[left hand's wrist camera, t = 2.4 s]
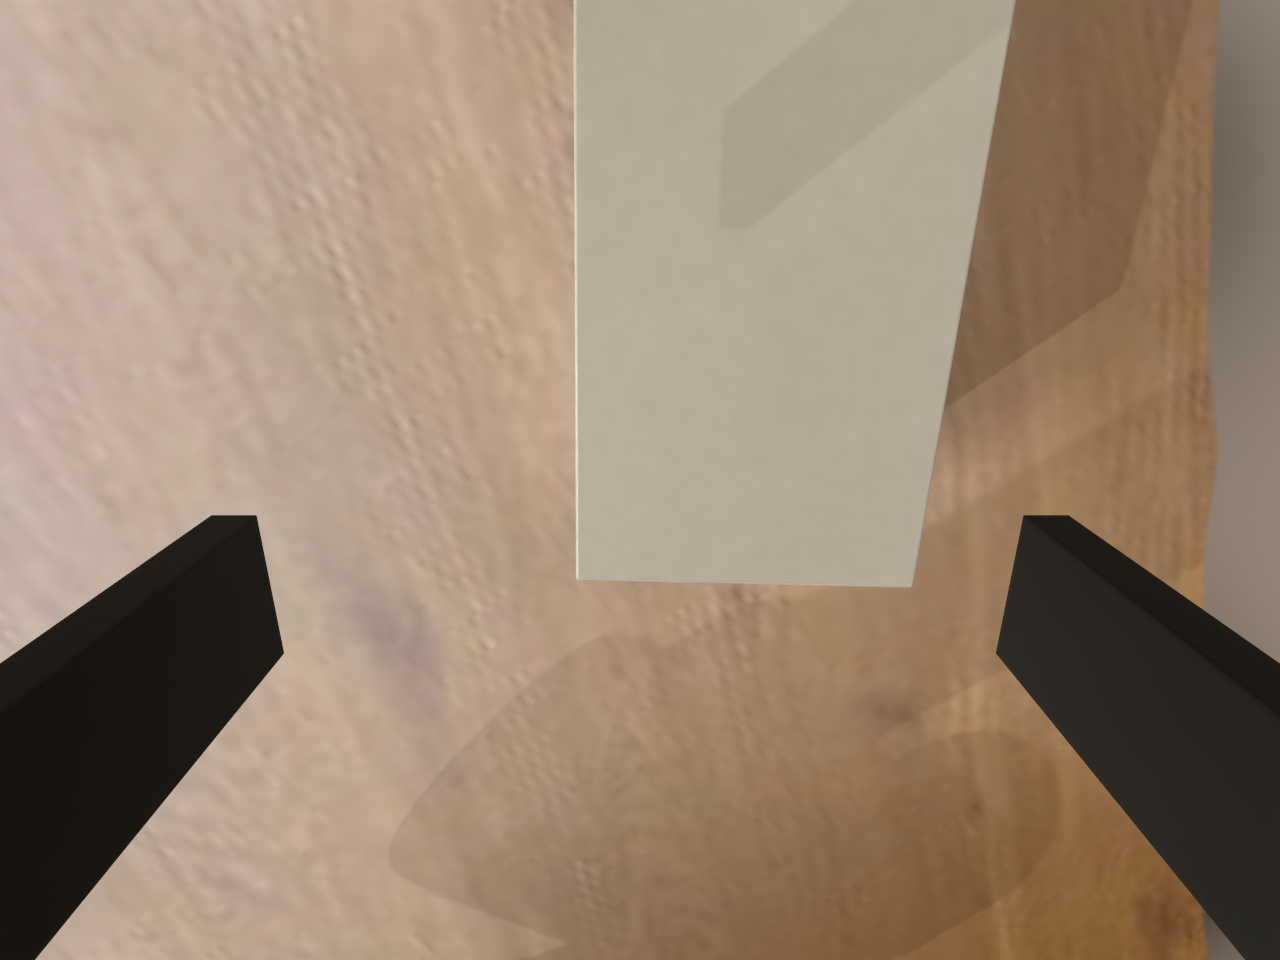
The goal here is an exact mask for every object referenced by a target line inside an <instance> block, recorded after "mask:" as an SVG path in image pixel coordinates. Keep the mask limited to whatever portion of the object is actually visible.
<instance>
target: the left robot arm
mask: <svg viewBox="0 0 1280 960" xmlns="http://www.w3.org/2000/svg"><path fill="white" fill-rule="evenodd" d="M283 654H284V651H283V646H282V641H281V636H280V631H279V626H278V621H277V616H276V611H275V606H274V601H273V596H272V591H271V586H270V581H269V576H268V571H267V566H266V561H265V556H264V551H263V546H262V541H261V536H260V531H259V526H258V521H257V516H256V515H212V516H210V517H209V518H207V519H206V520H204V521H203V522H202V523H200V524H199V525H197V526H196V527H194V528H193V529H192V530H190V531H189V532H187V533H186V534H184V535H183V536H182V537H180V538H179V539H177V540H176V541H174V542H173V543H172V544H170V545H169V546H167V547H166V548H164V549H163V550H162V551H160V552H159V553H157V554H156V555H154V556H153V557H152V558H150V559H149V560H147V561H146V562H144V563H143V564H142V565H140V566H139V567H137V568H136V569H134V570H133V571H132V572H130V573H129V574H127V575H126V576H124V577H123V578H122V579H120V580H119V581H117V582H116V583H115V584H113V585H112V586H110V587H109V588H107V589H106V590H105V591H103V592H102V593H100V594H99V595H97V596H96V597H95V598H93V599H92V600H90V601H89V602H87V603H86V604H85V605H83V606H82V607H80V608H79V609H77V610H76V611H75V612H73V613H72V614H70V615H69V616H67V617H66V618H65V619H63V620H62V621H60V622H59V623H57V624H56V625H55V626H53V627H52V628H50V629H49V630H47V631H46V632H45V633H43V634H42V635H40V636H39V637H37V638H36V639H35V640H33V641H32V642H30V643H29V644H27V645H26V646H25V647H23V648H22V649H20V650H19V651H17V652H16V653H15V654H13V655H12V656H10V657H9V658H7V659H6V660H5V661H3V662H2V663H0V960H35V959H36V958H37V957H38V955H39V954H40V953H41V952H42V950H43V949H44V948H45V947H46V945H47V944H48V943H49V942H50V941H51V939H52V938H53V937H54V936H55V934H56V933H57V932H58V931H59V929H60V928H61V927H62V926H63V925H64V923H65V922H66V921H67V920H68V918H69V917H70V916H71V915H72V913H73V912H74V911H75V910H76V909H77V907H78V906H79V905H80V904H81V902H82V901H83V900H84V899H85V897H86V896H87V895H88V894H89V893H90V891H91V890H92V889H93V888H94V886H95V885H96V884H97V883H98V881H99V880H100V879H101V878H102V877H103V875H104V874H105V873H106V872H107V870H108V869H109V868H110V867H111V865H112V864H113V863H114V862H115V861H116V859H117V858H118V857H119V856H120V854H121V853H122V852H123V851H124V849H125V848H126V847H127V846H128V845H129V843H130V842H131V841H132V840H133V838H134V837H135V836H136V835H137V833H138V832H139V831H140V830H141V829H142V827H143V826H144V825H145V824H146V822H147V821H148V820H149V819H150V817H151V816H152V815H153V814H154V813H155V811H156V810H157V809H158V808H159V806H160V805H161V804H162V803H163V801H164V800H165V799H166V798H167V797H168V795H169V794H170V793H171V792H172V790H173V789H174V788H175V787H176V785H177V784H178V783H179V782H180V781H181V779H182V778H183V777H184V776H185V774H186V773H187V772H188V771H189V769H190V768H191V767H192V766H193V765H194V763H195V762H196V761H197V760H198V758H199V757H200V756H201V755H202V753H203V752H204V751H205V750H206V749H207V747H208V746H209V745H210V744H211V742H212V741H213V740H214V739H215V737H216V736H217V735H218V734H219V733H220V731H221V730H222V729H223V728H224V726H225V725H226V724H227V723H228V721H229V720H230V719H231V718H232V717H233V715H234V714H235V713H236V712H237V710H238V709H239V708H240V707H241V706H242V704H243V703H244V702H245V701H246V699H247V698H248V697H249V696H250V694H251V693H252V692H253V691H254V690H255V688H256V687H257V686H258V685H259V683H260V682H261V681H262V680H263V678H264V677H265V676H266V675H267V674H268V672H269V671H270V670H271V669H272V667H273V666H274V665H275V664H276V662H277V661H278V660H279V659H280V658H281V656H282V655H283ZM996 654H997V655H998V656H999V658H1000V659H1001V660H1002V661H1003V662H1004V664H1005V665H1006V666H1007V667H1008V669H1009V670H1010V671H1011V672H1012V674H1013V675H1014V676H1015V677H1016V678H1017V680H1018V681H1019V682H1020V683H1021V685H1022V686H1023V687H1024V688H1025V690H1026V691H1027V692H1028V693H1029V694H1030V696H1031V697H1032V698H1033V699H1034V701H1035V702H1036V703H1037V704H1038V706H1039V707H1040V708H1041V709H1042V710H1043V712H1044V713H1045V714H1046V715H1047V717H1048V718H1049V719H1050V720H1051V721H1052V723H1053V724H1054V725H1055V726H1056V728H1057V729H1058V730H1059V731H1060V733H1061V734H1062V735H1063V736H1064V737H1065V739H1066V740H1067V741H1068V742H1069V744H1070V745H1071V746H1072V747H1073V749H1074V750H1075V751H1076V752H1077V753H1078V755H1079V756H1080V757H1081V758H1082V760H1083V761H1084V762H1085V763H1086V765H1087V766H1088V767H1089V768H1090V769H1091V771H1092V772H1093V773H1094V774H1095V776H1096V777H1097V778H1098V779H1099V781H1100V782H1101V783H1102V784H1103V785H1104V787H1105V788H1106V789H1107V790H1108V792H1109V793H1110V794H1111V795H1112V797H1113V798H1114V799H1115V800H1116V801H1117V803H1118V804H1119V805H1120V806H1121V808H1122V809H1123V810H1124V811H1125V813H1126V814H1127V815H1128V816H1129V817H1130V819H1131V820H1132V821H1133V822H1134V824H1135V825H1136V826H1137V827H1138V829H1139V830H1140V831H1141V832H1142V833H1143V835H1144V836H1145V837H1146V838H1147V840H1148V841H1149V842H1150V843H1151V845H1152V846H1153V847H1154V848H1155V849H1156V851H1157V852H1158V853H1159V854H1160V856H1161V857H1162V858H1163V859H1164V861H1165V862H1166V863H1167V864H1168V865H1169V867H1170V868H1171V869H1172V870H1173V872H1174V873H1175V874H1176V875H1177V877H1178V878H1179V879H1180V880H1181V881H1182V883H1183V884H1184V885H1185V886H1186V888H1187V889H1188V890H1189V891H1190V893H1191V894H1192V895H1193V896H1194V897H1195V899H1196V900H1197V901H1198V902H1199V904H1200V905H1201V906H1202V907H1203V909H1204V910H1205V911H1206V912H1207V913H1208V915H1209V916H1210V917H1211V918H1212V920H1213V921H1214V922H1215V923H1216V925H1217V926H1218V927H1219V928H1220V929H1221V931H1222V932H1223V933H1224V934H1225V936H1226V937H1227V938H1228V939H1229V940H1230V942H1231V943H1232V944H1233V945H1234V947H1235V948H1236V949H1237V950H1238V952H1239V953H1240V954H1241V955H1242V957H1243V958H1244V959H1245V960H1280V663H1278V662H1277V661H1275V660H1274V659H1272V658H1271V657H1270V656H1268V655H1267V654H1265V653H1264V652H1262V651H1261V650H1260V649H1258V648H1257V647H1255V646H1254V645H1252V644H1251V643H1250V642H1248V641H1247V640H1245V639H1244V638H1243V637H1241V636H1240V635H1238V634H1237V633H1235V632H1234V631H1233V630H1231V629H1230V628H1228V627H1227V626H1225V625H1224V624H1223V623H1221V622H1220V621H1218V620H1217V619H1215V618H1214V617H1213V616H1211V615H1210V614H1208V613H1207V612H1205V611H1204V610H1203V609H1201V608H1200V607H1198V606H1197V605H1195V604H1194V603H1193V602H1191V601H1190V600H1188V599H1187V598H1185V597H1184V596H1183V595H1181V594H1180V593H1178V592H1177V591H1175V590H1174V589H1173V588H1171V587H1170V586H1168V585H1167V584H1165V583H1164V582H1163V581H1161V580H1160V579H1158V578H1157V577H1156V576H1154V575H1153V574H1151V573H1150V572H1148V571H1147V570H1146V569H1144V568H1143V567H1141V566H1140V565H1138V564H1137V563H1136V562H1134V561H1133V560H1131V559H1130V558H1128V557H1127V556H1126V555H1124V554H1123V553H1121V552H1120V551H1118V550H1117V549H1116V548H1114V547H1113V546H1111V545H1110V544H1108V543H1107V542H1106V541H1104V540H1103V539H1101V538H1100V537H1098V536H1097V535H1096V534H1094V533H1093V532H1091V531H1090V530H1088V529H1087V528H1086V527H1084V526H1083V525H1081V524H1080V523H1078V522H1077V521H1076V520H1074V519H1073V518H1071V517H1070V516H1068V515H1024V516H1023V521H1022V526H1021V531H1020V536H1019V541H1018V546H1017V551H1016V556H1015V561H1014V566H1013V571H1012V576H1011V581H1010V586H1009V591H1008V596H1007V601H1006V606H1005V611H1004V616H1003V621H1002V626H1001V631H1000V636H999V641H998V646H997V651H996Z"/></svg>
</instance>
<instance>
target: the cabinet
mask: <svg viewBox="0 0 1280 960" xmlns="http://www.w3.org/2000/svg"><path fill="white" fill-rule="evenodd" d="M1015 3H1016V0H574V215H575V447H576V578H577V579H578V580H609V581H652V582H696V583H740V584H784V585H827V586H871V587H912V586H913V583H914V577H915V571H916V566H917V560H918V554H919V549H920V543H921V537H922V532H923V526H924V520H925V515H926V509H927V503H928V498H929V492H930V486H931V480H932V475H933V469H934V463H935V458H936V452H937V446H938V441H939V435H940V429H941V424H942V418H943V412H944V407H945V401H946V395H947V389H948V384H949V378H950V372H951V367H952V361H953V355H954V350H955V344H956V338H957V333H958V327H959V321H960V315H961V310H962V304H963V298H964V293H965V287H966V281H967V276H968V270H969V264H970V259H971V253H972V247H973V242H974V236H975V230H976V224H977V219H978V213H979V207H980V202H981V196H982V190H983V185H984V179H985V173H986V168H987V162H988V156H989V151H990V145H991V139H992V133H993V128H994V122H995V116H996V111H997V105H998V99H999V94H1000V88H1001V82H1002V77H1003V71H1004V65H1005V60H1006V54H1007V48H1008V42H1009V37H1010V31H1011V25H1012V20H1013V14H1014V8H1015Z"/></svg>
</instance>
